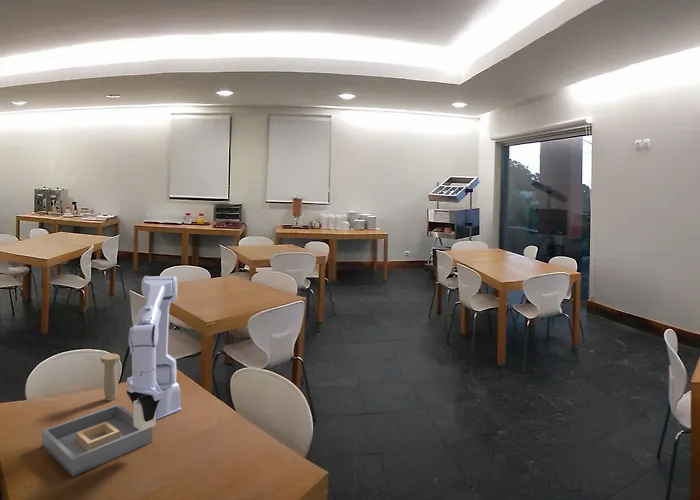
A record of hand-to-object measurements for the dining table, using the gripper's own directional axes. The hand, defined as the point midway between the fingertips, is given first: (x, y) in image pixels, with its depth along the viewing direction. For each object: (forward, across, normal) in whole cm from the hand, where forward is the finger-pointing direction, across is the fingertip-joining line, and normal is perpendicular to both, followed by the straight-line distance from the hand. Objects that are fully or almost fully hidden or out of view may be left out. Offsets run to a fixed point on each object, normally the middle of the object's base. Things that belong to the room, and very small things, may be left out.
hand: (144, 417), depth 114 cm
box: (+10, -13, -6) cm, 17 cm away
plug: (+2, 0, 0) cm, 2 cm away
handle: (+10, -37, +8) cm, 39 cm away
